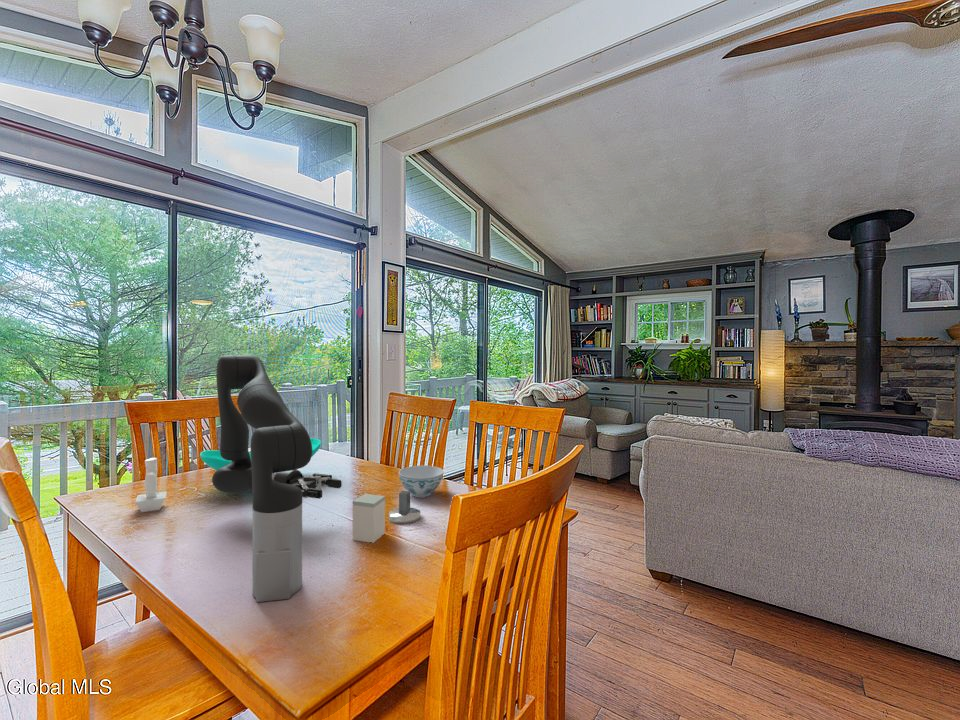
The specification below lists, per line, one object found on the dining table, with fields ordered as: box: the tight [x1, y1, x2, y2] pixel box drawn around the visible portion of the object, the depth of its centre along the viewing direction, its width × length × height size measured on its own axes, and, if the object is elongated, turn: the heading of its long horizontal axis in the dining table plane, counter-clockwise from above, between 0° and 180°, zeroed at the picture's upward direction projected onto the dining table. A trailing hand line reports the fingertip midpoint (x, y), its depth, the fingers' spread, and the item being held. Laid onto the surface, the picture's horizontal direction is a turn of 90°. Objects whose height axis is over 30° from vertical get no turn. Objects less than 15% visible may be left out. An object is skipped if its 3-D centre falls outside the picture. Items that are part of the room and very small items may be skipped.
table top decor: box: [199, 437, 323, 471], centre depth 160 cm, size 40×28×13 cm
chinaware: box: [398, 465, 445, 498], centre depth 151 cm, size 15×15×8 cm
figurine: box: [134, 457, 168, 513], centre depth 134 cm, size 7×9×15 cm
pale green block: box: [351, 493, 386, 544], centre depth 117 cm, size 6×6×10 cm
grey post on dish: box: [388, 490, 421, 525], centre depth 130 cm, size 9×9×8 cm
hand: (331, 489), depth 120 cm, fingers open, 8 cm apart
